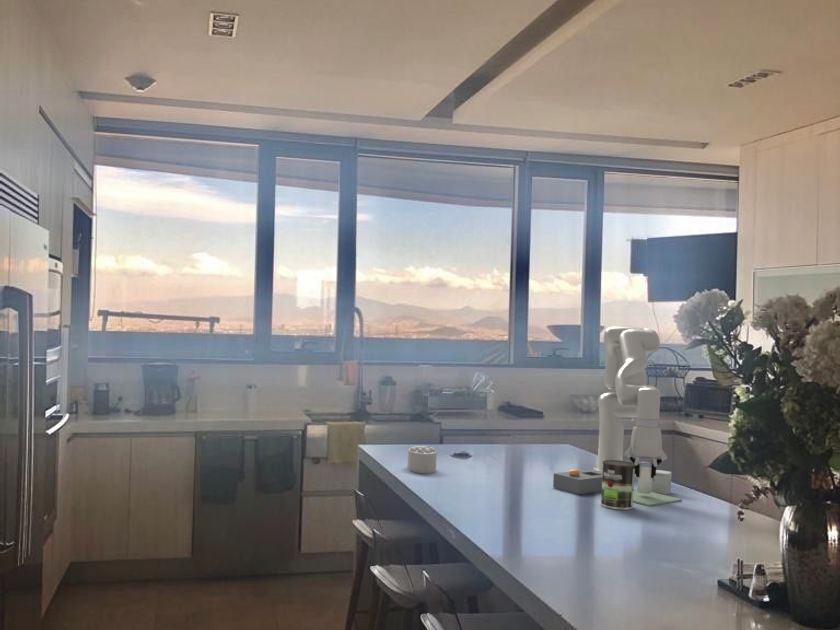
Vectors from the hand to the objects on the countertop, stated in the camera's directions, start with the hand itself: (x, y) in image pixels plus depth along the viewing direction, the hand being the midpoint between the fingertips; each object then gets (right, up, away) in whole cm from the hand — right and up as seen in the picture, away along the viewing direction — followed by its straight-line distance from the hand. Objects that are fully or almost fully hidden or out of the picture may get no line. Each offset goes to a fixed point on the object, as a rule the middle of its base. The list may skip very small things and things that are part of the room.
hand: (644, 476), depth 282 cm
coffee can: (-13, -7, -15) cm, 21 cm away
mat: (0, -7, 0) cm, 7 cm away
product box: (+9, -8, +12) cm, 17 cm away
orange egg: (-23, -5, +8) cm, 25 cm away
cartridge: (0, -5, 0) cm, 5 cm away
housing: (-19, -6, +11) cm, 23 cm away
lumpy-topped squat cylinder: (-76, -4, +31) cm, 82 cm away
